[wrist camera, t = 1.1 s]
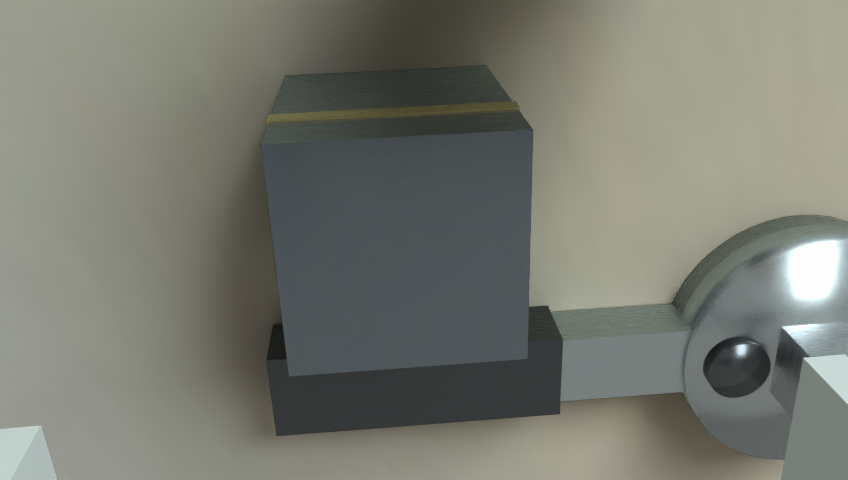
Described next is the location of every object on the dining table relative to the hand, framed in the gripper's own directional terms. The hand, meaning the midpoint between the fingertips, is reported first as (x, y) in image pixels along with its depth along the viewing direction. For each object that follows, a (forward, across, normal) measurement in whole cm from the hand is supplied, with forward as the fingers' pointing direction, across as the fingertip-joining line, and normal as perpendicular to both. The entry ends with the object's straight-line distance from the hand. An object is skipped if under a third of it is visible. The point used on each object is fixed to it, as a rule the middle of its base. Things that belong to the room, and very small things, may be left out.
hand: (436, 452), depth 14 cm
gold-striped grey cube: (+16, 0, 0) cm, 17 cm away
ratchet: (+16, +8, -8) cm, 20 cm away
